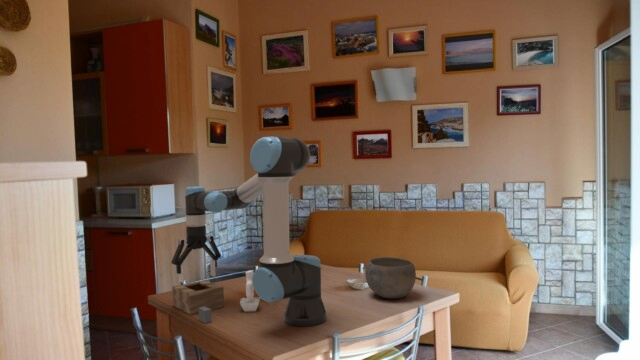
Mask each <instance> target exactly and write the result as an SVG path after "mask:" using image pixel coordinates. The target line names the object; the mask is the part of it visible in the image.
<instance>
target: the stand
mask: <svg viewBox="0 0 640 360" xmlns="http://www.w3.org/2000/svg"><path fill="white" fill-rule="evenodd" d="M198 321H200V322H202V323H204V324H209V323H212V310H211V309H209V308H207V307H200V308H199V313H198Z"/></svg>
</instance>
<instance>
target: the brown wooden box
mask: <svg viewBox="0 0 640 360" xmlns="http://www.w3.org/2000/svg"><path fill="white" fill-rule="evenodd" d="M224 291H225V290H224V286H221V285H219V284H216V283H213V282H211V281H208V280H205V279H204V280H199V281H193V282H188V283H184V284H182V283H181V284H178V285H174V286H173V285H172V305H173V308H176V309H178V310H179V311H182V312H183V313H186V314H187V315H189V316H193V315H199V308H200V307H207V308H209V309H211V311H215V310H218V309H223V308H225V301H224V300H225V299H224V298H225V295H224Z"/></svg>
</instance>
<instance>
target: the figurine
mask: <svg viewBox="0 0 640 360" xmlns="http://www.w3.org/2000/svg"><path fill="white" fill-rule="evenodd" d="M253 273H255V271H254V270H253V269H251V270H250V269H249V270H247V271H245V276H246V278H245V279H246V281H245V282H246V283H245V296H246V297H241V299H240V302H239V305H240V307H241V308H242V311H243V312H245V313H247V312H256V311H257V309H258V306H259V304H260V300H261V298H260V297H259V296H258V297H254V295H255V294H254V287H253V283H252V277H253Z"/></svg>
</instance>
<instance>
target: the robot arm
mask: <svg viewBox="0 0 640 360" xmlns="http://www.w3.org/2000/svg"><path fill="white" fill-rule="evenodd" d="M249 154H250V155H249V162H250V163H249V164H250V165H251V166H252V169H253V170H254V171H255V172H256V173H255V174H254V175H252V177H250V178H248V180H246V181H245V182H244V183H242V184H241V185H239V186H237V188H235V189H233V190H223V191H222V190H220V191H206V189H205V187H204V186H198V185H197V186H187V187H186V188H185V196H184V198H185V199H184V200H185V224H186V227H185V228H186V229H185V231H186V233H185V234H186V239H182V238H180V239H178V244H177V248H176V250H175V252H174V255H173V257H172V259H171V262H170V263H171V265H174V266H176V274H178V282H180V283H184V282H185V279H184V278H185V277H184V265H183V263H184V261H185V260H186V258H187V257H188V255H189V254H190V253H191V252H192V251H193V250H198V249H199V250H200V249H203V250H204V251H205V253H206V254H207V255H208V256H209V257H210V258H211V259H209V260H210V263H209V264H210V268H209V269H210V276H211V277H216V268H217V267H218V260H219V259H220V258H222V254H221V253H220V250H219V248H218V246H217V245H216V242H215V240H214V236H213V235H208V236H207V226H206V223H207V220H206V219H207V218H206V212H212V213H220V212H223V211H228V210H229V211H231V210H243V209H248V208H249V207H250V206H251V205H252V203H253V201H254V200H255V199H256V198H258V197H260V196H261V195H262V215H263V216H262V220H263V221H262V224H263V225H262V226H263V228H262V229H263V255H262V256H261V257H260V258H259V267H258V268H257V269H255V270H254V273H253V277H252V283H253V291H255V293H256V294H257V295H258V297H260V300H263V301H264V302H266V303H273V302H279V301H282V300H284V299H286V298H288V300H287V303H286V307H285V312H284V315H283V317H284V318H283V319H284V320H283V321H284V322H285V323H286V324H288V325H290V326H295V327H313V326H316V325H321V324H323V323H325V322H326V320H327V310H326V308H325V305H324V301H323V298H322V267H321V259H320V258H319V257H318V256H315V255H309V254H291V253H290V252H291V250H290V200H289V199H290V197H289V196H290V195H289V194H290V193H289V192H290V190H289V189H290V188H289V184H290V181H291V180H292V179H293V178H294V176H296V175H298V174H299V173H301V172H302V171H303V170H305V169H306V168H307V166H308V165H309V163H310V159H311V151H310V148H309V146H308V145H307V144H306V142H305V141H303V140H302V139H299V138H297V137H286V136H285V137H284V136H264V137H261V138H259V139H257V140H256V141H255V143H254V144H253V146H252V147H251V150H250V153H249ZM206 242H208V244H209V246H210V247H211V249H210V248H209V246H208V245H207V244H206ZM186 244H187V245H186ZM185 245H186V247H185V248H184V246H185ZM183 249H184V250H183Z"/></svg>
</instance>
